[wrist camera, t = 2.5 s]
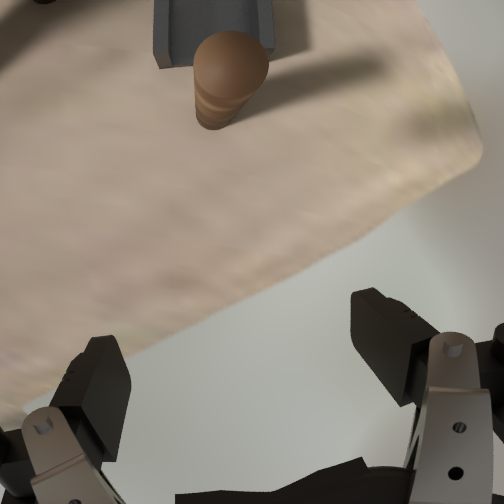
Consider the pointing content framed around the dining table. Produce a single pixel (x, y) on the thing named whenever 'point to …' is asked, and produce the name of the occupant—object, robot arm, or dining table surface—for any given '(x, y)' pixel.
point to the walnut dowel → (226, 76)
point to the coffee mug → (44, 1)
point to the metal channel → (206, 26)
